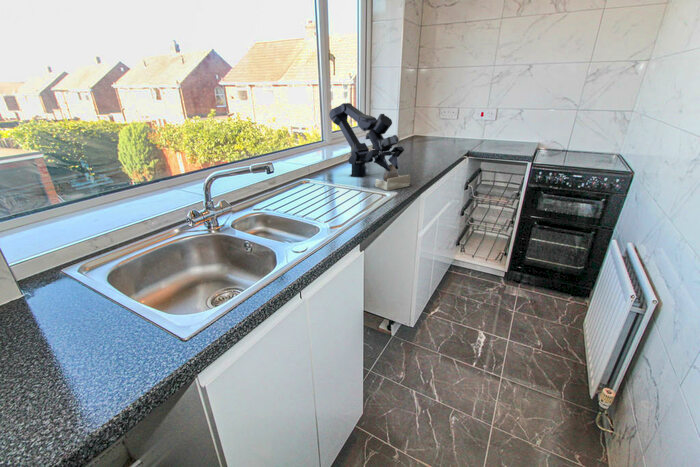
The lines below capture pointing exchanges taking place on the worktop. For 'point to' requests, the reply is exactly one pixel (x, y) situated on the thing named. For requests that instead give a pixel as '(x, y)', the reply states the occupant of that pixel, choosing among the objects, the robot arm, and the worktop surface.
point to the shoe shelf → (393, 183)
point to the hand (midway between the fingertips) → (393, 169)
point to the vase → (390, 173)
